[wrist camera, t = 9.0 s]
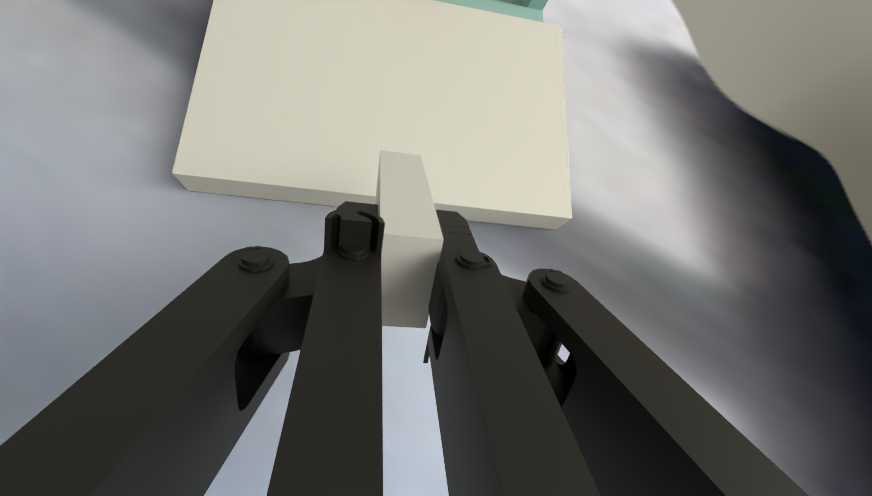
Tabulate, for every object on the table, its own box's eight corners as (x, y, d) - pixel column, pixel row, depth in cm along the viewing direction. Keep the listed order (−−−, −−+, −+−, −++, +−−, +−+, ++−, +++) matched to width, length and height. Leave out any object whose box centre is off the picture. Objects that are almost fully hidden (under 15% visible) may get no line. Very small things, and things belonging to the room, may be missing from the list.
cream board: (188, 190, 21) (171, 173, 19) (233, -11, 24) (223, -42, 22) (554, 229, 24) (572, 218, 22) (547, 48, 28) (561, 25, 26)
